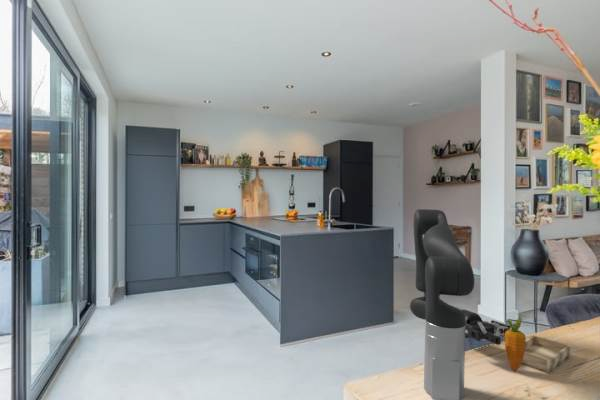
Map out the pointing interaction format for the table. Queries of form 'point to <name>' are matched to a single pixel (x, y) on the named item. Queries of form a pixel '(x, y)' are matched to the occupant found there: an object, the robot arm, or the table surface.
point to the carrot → (515, 344)
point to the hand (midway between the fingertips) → (510, 339)
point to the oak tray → (544, 354)
